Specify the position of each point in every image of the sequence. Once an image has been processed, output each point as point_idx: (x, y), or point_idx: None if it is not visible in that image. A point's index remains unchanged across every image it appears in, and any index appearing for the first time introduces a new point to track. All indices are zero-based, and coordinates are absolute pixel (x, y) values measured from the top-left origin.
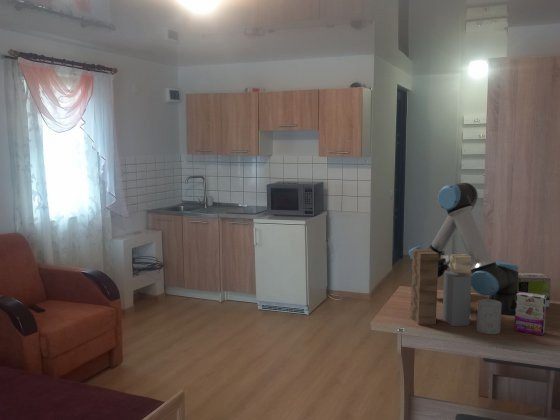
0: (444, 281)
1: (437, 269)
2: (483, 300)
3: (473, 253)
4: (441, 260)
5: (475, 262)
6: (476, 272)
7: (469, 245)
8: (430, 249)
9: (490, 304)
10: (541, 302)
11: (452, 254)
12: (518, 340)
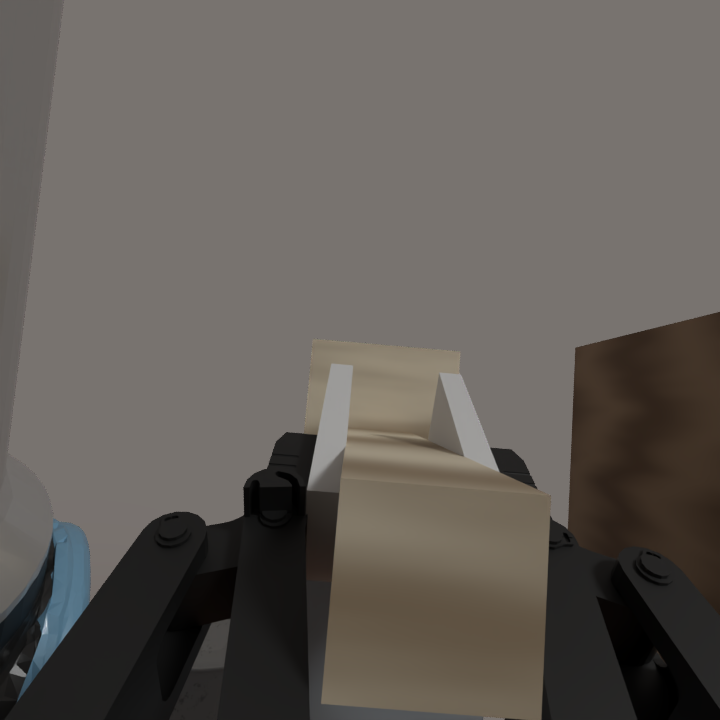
0: (477, 717)
1: (573, 486)
2: (208, 661)
3: (20, 340)
4: None
5: (3, 474)
6: (89, 563)
7: (37, 204)
8: (703, 318)
9: (225, 620)
10: None
11: (444, 350)
12: None
